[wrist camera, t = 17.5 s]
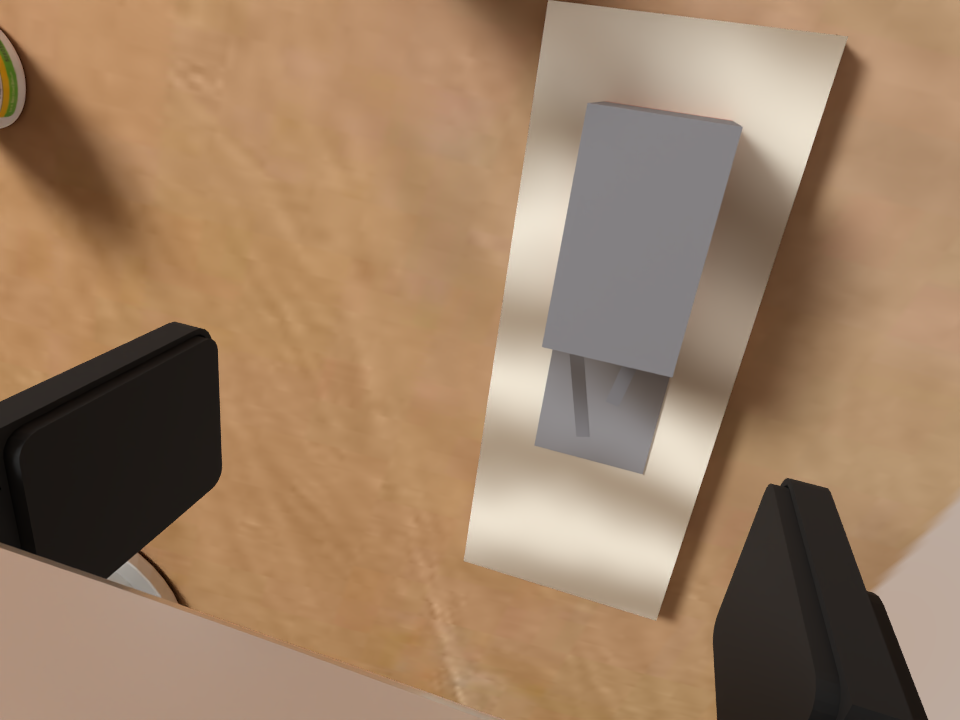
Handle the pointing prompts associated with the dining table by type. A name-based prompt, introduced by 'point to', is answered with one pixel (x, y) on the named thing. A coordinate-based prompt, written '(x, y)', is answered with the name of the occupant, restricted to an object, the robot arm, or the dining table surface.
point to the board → (711, 326)
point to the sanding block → (637, 233)
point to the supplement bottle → (10, 83)
